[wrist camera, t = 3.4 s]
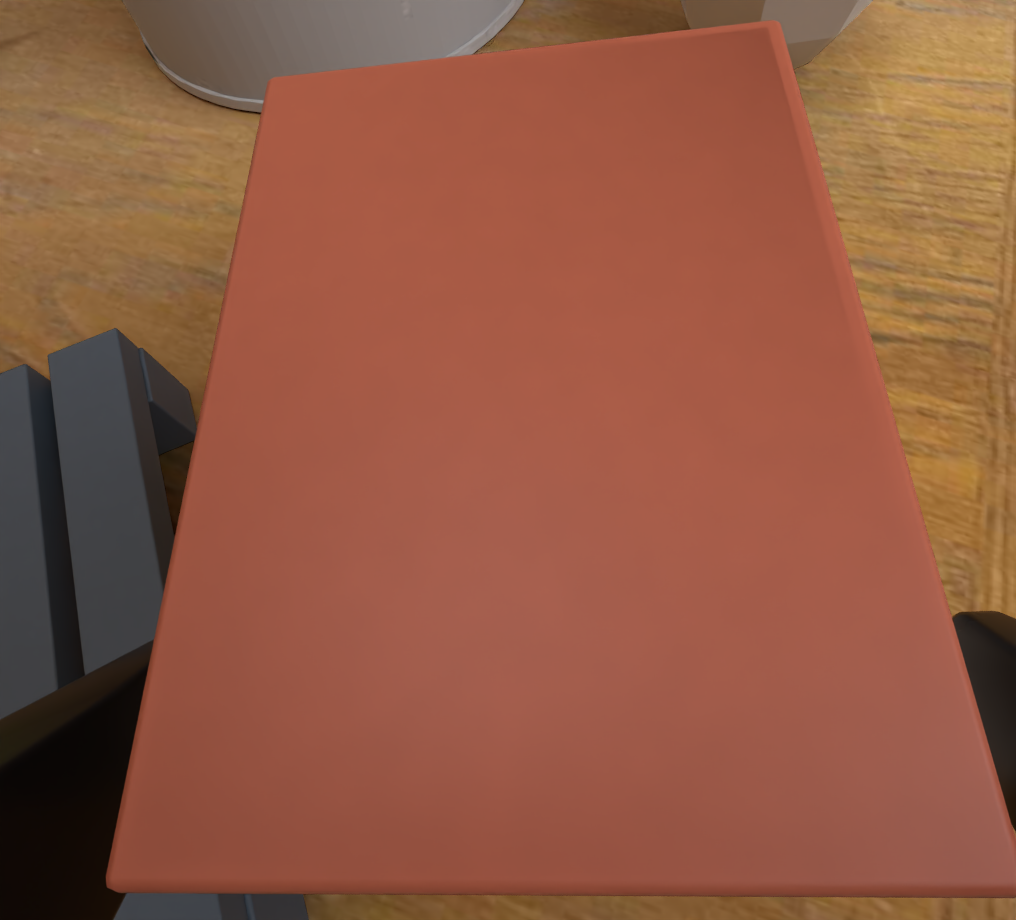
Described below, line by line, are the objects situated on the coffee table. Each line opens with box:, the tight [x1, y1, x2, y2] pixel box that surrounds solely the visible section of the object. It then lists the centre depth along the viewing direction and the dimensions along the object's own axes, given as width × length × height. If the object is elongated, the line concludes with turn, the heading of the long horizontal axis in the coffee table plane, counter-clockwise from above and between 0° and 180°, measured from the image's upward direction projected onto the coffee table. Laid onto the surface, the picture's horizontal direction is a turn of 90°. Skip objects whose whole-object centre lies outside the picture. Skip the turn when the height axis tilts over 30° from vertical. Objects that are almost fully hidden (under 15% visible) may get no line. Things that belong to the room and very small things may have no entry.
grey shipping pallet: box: [0, 328, 309, 920], centre depth 16 cm, size 16×10×4 cm, turn 23°
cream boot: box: [106, 20, 1016, 898], centre depth 12 cm, size 14×5×13 cm, turn 1°
